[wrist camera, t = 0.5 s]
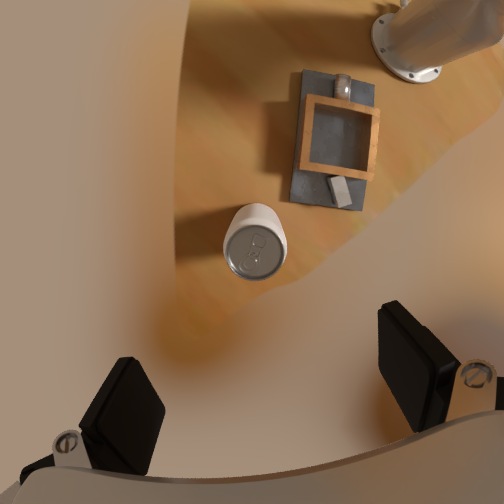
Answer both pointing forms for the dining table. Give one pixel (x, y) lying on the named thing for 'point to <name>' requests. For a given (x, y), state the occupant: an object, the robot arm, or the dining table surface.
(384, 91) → the dining table surface
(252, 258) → the can
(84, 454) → the robot arm
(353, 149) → the base
